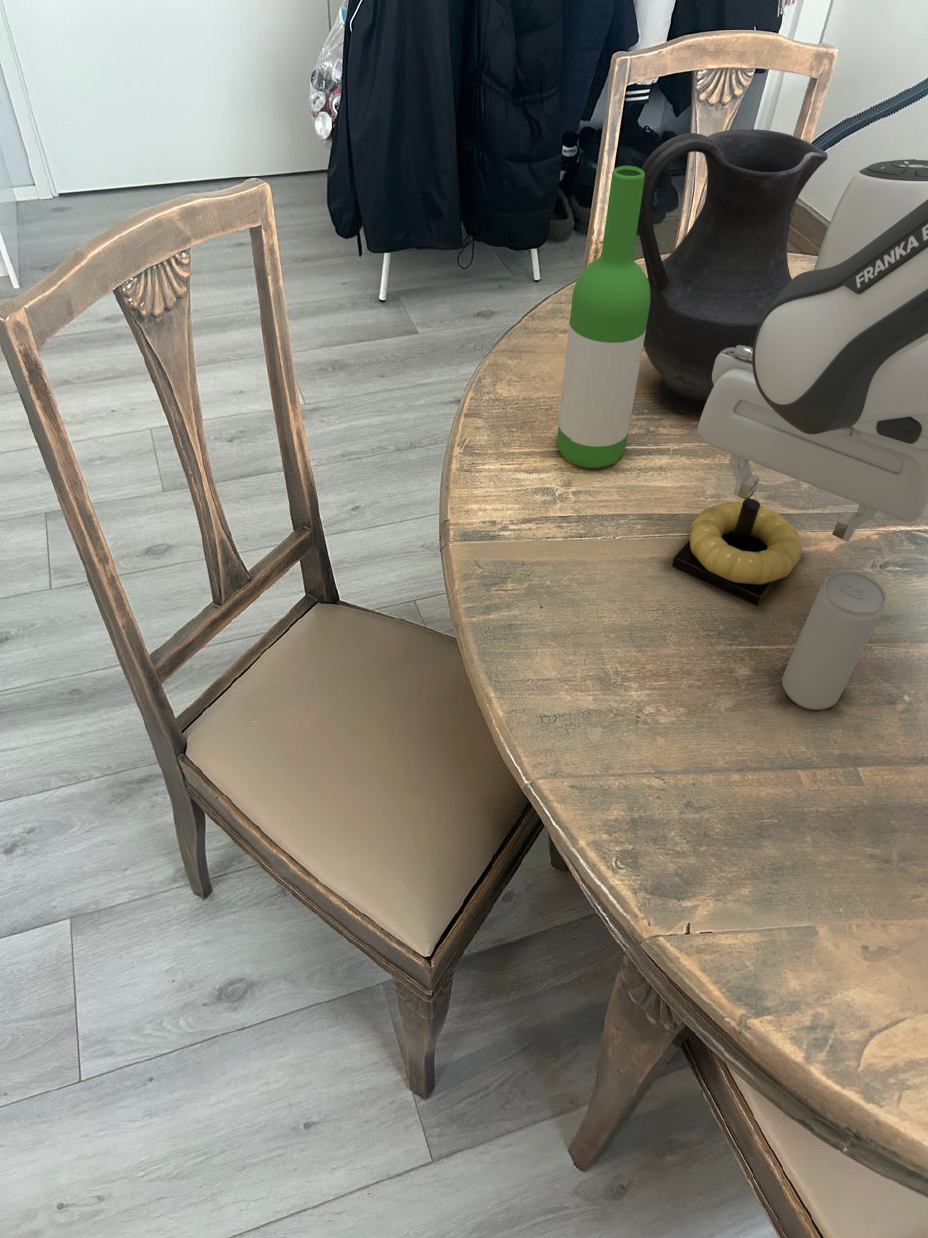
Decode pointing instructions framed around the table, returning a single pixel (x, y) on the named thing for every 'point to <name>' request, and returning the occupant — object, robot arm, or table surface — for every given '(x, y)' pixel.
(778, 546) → the ring doughnut
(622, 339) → the bottle
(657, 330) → the pitcher
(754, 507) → the post
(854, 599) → the beverage can
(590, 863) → the table surface
